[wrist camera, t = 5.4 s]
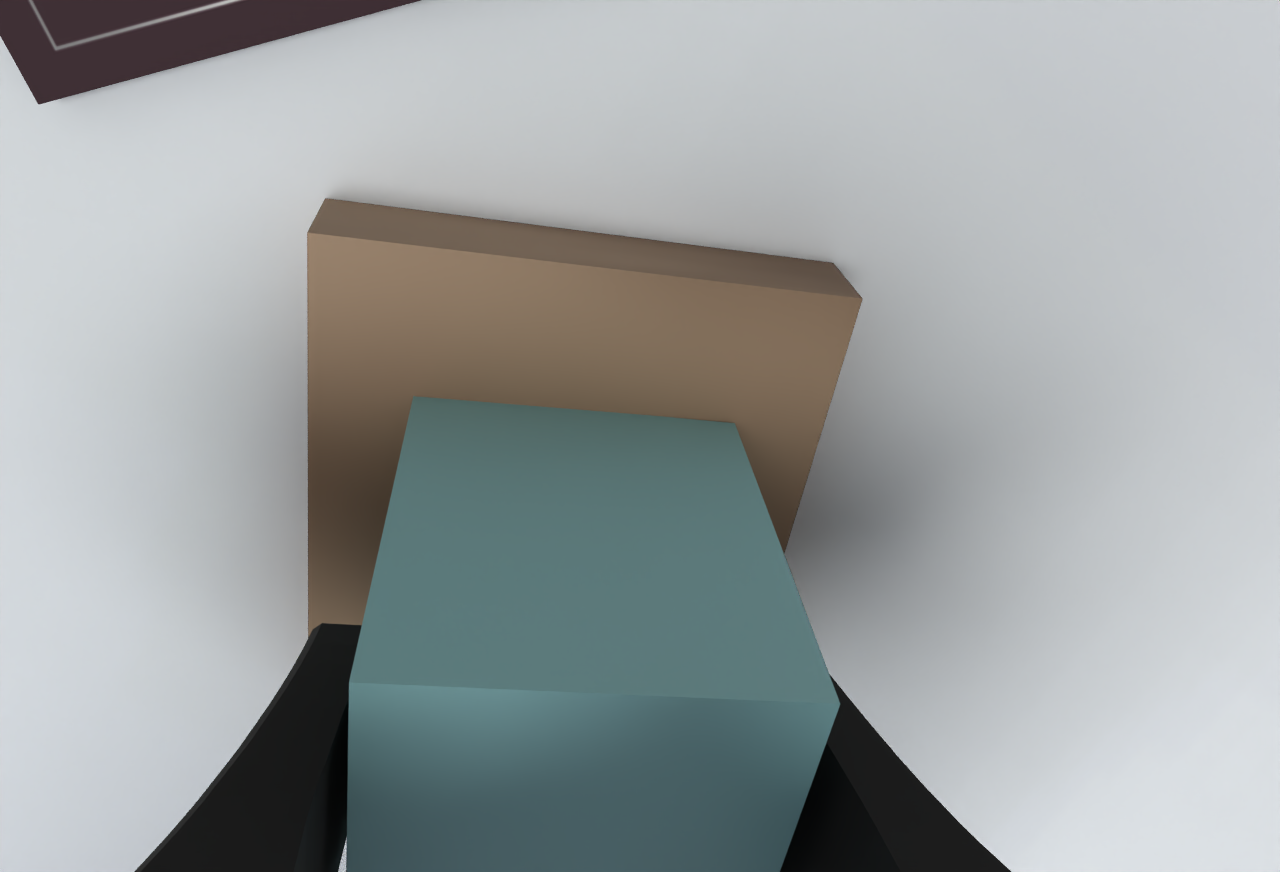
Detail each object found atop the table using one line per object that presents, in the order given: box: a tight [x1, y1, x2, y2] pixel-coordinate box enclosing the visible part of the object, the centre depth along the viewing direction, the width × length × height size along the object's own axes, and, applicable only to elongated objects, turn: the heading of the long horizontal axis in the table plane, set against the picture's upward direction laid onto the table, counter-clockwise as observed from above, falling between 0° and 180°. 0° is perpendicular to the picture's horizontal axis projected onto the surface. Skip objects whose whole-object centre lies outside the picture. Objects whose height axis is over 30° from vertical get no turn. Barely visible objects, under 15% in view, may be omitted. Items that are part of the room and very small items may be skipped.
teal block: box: [346, 396, 840, 872], centre depth 13 cm, size 5×5×6 cm
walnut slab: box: [307, 198, 862, 638], centre depth 17 cm, size 10×8×2 cm
